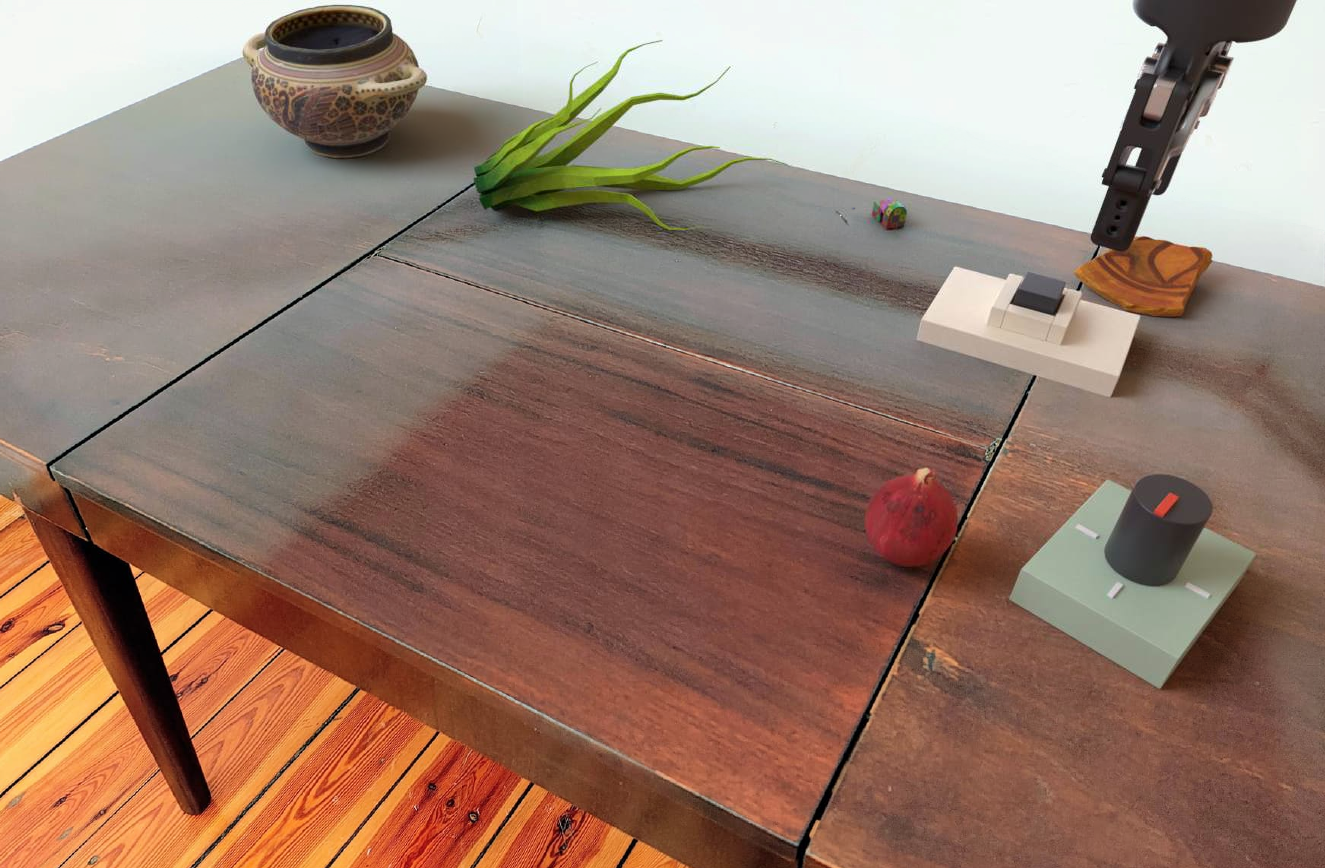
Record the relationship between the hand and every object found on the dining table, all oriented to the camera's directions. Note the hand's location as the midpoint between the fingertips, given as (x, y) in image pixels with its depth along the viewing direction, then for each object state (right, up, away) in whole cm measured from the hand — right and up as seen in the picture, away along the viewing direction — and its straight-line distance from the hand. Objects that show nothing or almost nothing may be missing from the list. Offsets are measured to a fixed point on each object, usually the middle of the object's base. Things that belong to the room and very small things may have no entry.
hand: (1128, 216), depth 63 cm
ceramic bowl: (-61, +23, +55) cm, 85 cm away
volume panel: (+2, -23, +5) cm, 24 cm away
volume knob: (+2, -21, +3) cm, 21 cm away
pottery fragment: (+17, +2, +33) cm, 37 cm away
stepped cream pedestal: (+5, -4, +26) cm, 27 cm away
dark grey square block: (+5, -1, +24) cm, 24 cm away
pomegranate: (-12, -22, +7) cm, 26 cm away
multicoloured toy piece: (-3, +10, +42) cm, 43 cm away
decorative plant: (-29, +13, +45) cm, 56 cm away
